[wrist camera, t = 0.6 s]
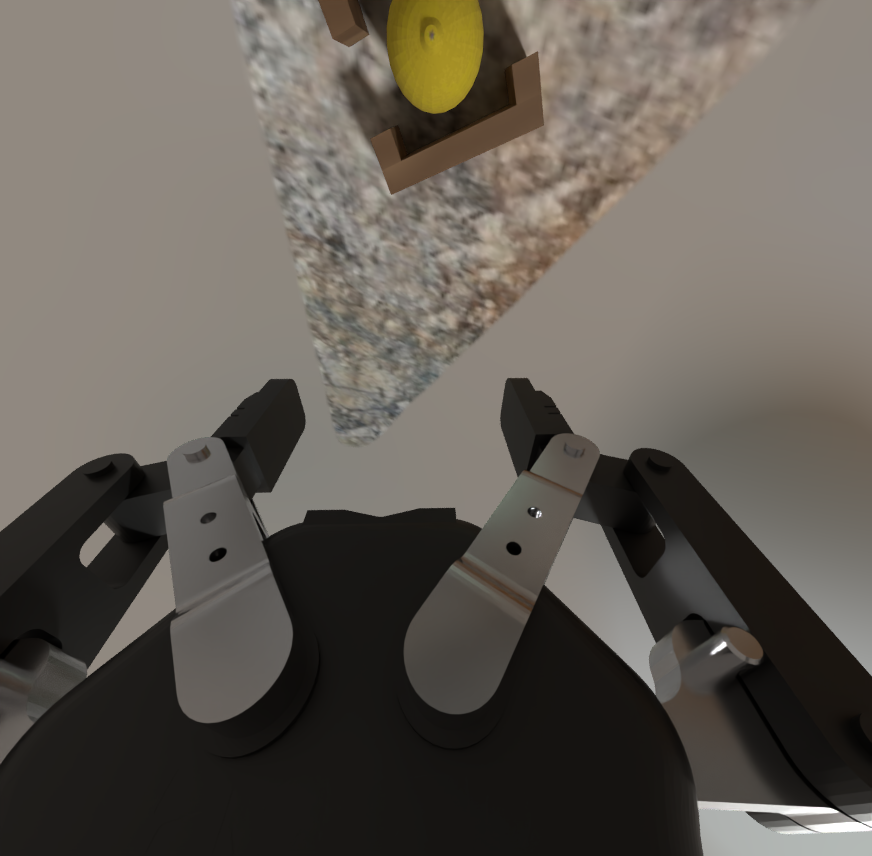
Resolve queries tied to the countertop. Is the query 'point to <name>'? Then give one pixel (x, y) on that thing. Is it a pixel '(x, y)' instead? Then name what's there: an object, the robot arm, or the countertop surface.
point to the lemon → (435, 50)
